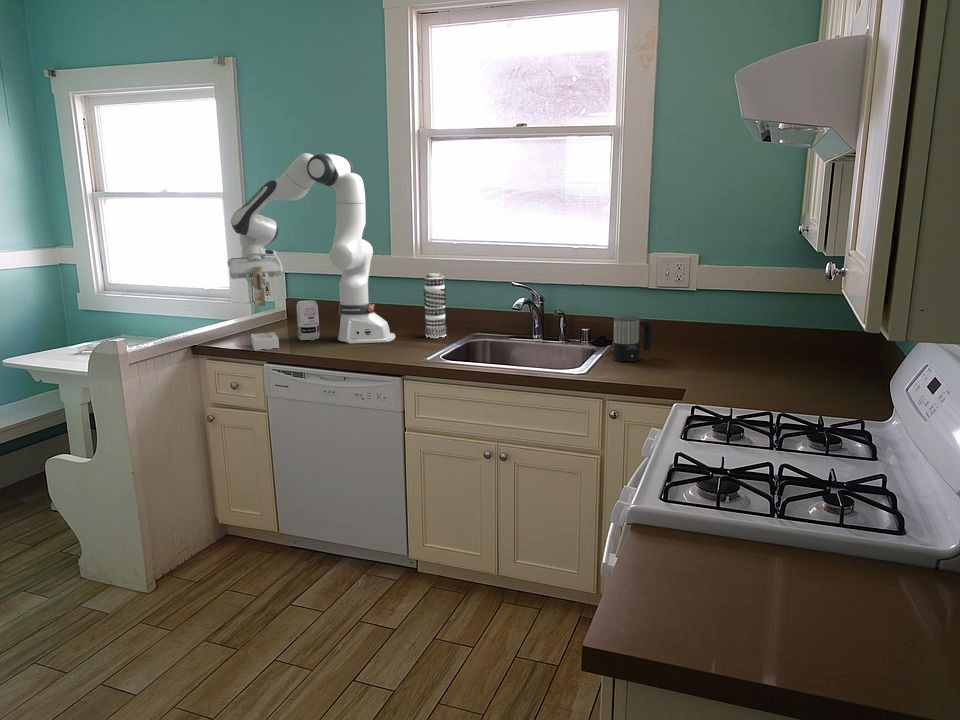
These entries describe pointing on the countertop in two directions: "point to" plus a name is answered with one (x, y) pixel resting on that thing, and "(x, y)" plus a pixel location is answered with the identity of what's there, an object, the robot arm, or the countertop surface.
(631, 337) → the milk frother
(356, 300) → the robot arm
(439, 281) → the decorative candle
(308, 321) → the supplement can
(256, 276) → the beige wooden block
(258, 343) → the white rectangular tray
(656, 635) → the countertop surface
